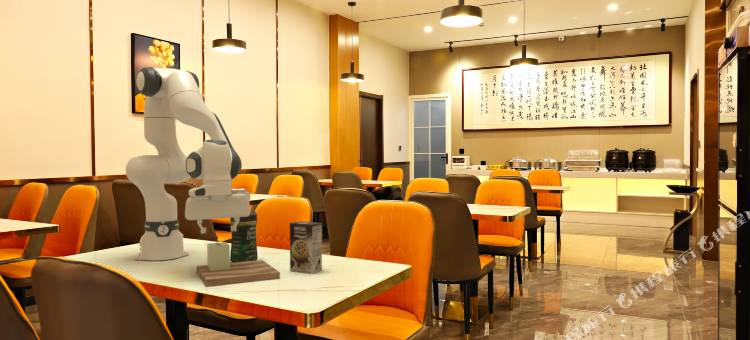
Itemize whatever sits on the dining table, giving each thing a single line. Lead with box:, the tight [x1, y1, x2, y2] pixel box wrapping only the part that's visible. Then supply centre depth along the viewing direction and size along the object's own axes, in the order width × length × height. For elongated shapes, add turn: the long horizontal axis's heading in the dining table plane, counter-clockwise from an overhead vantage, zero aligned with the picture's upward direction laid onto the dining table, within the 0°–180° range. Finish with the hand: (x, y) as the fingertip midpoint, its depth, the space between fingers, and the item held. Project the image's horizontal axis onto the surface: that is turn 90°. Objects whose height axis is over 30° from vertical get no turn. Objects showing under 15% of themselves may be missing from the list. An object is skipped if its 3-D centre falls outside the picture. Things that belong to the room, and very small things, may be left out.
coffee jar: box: [229, 210, 258, 263], centre depth 190 cm, size 10×8×19 cm
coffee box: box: [289, 220, 323, 274], centre depth 174 cm, size 9×6×16 cm
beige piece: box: [206, 241, 231, 271], centre depth 169 cm, size 6×6×8 cm
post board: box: [195, 259, 281, 288], centre depth 168 cm, size 22×22×8 cm
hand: (218, 232), depth 169 cm, fingers open, 8 cm apart
